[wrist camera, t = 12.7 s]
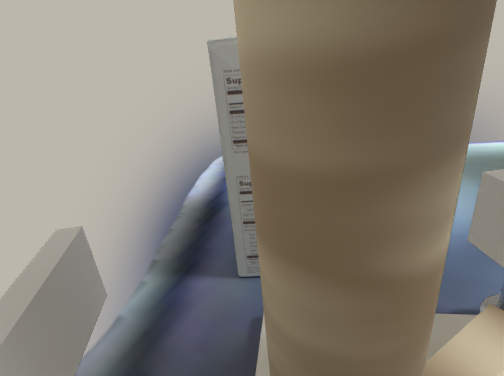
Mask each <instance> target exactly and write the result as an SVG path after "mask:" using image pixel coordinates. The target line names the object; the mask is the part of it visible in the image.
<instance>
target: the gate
mask: <svg viewBox="0 0 504 376" xmlns="http://www.w3.org/2000/svg"><path fill="white" fill-rule="evenodd" d="M233 1H234V12H235V21H236V32H237V42H238V52H239V63H240V73H241V83H242V93H243V104H244V114H245V124H246V134H247V144H248V155H249V165H250V175H251V185H252V196H253V206H254V216H255V226H256V237H257V247H258V257H259V267H260V277H261V288H262V298H263V308H264V318H265V329H266V339H267V349H268V359H269V369H270V376H504V311H503V310H501V309H499V308H497V307H496V306H494V305H492V304H489V305H488V306H487V307H486V308H485V309H484V310H483V311H482V312H481V313H480V314H478V315H477V316H476V317H475V318H474V319H473V320H472V321H471V322H470V323H468V324H467V325H466V326H465V327H464V328H463V329H462V330H461V331H460V332H459V333H457V334H456V335H455V336H454V337H453V338H452V339H451V340H450V341H449V342H448V343H446V344H445V345H444V346H443V347H442V348H441V349H440V350H439V351H438V352H436V353H435V354H434V355H433V356H432V357H431V358H430V359H429V360H428V361H427V362H426V358H427V353H428V348H429V343H430V338H431V333H432V328H433V323H434V318H435V312H436V307H437V302H438V297H439V292H440V287H441V282H442V277H443V272H444V267H445V261H446V256H447V251H448V246H449V241H450V236H451V231H452V226H453V221H454V216H455V210H456V205H457V200H458V195H459V190H460V185H461V180H462V175H463V170H464V165H465V160H466V154H467V149H468V144H469V139H470V134H471V129H472V124H473V119H474V114H475V108H476V103H477V98H478V93H479V88H480V83H481V78H482V73H483V68H484V63H485V58H486V53H487V47H488V42H489V37H490V32H491V27H492V21H493V17H494V12H495V7H496V2H497V0H233Z"/></svg>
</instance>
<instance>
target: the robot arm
mask: <svg viewBox="0 0 504 376" xmlns="http://www.w3.org/2000/svg"><path fill="white" fill-rule="evenodd" d="M468 241H469V242H470V243H472V244H473V245H474V246H476V247H477V248H478V249H479V250H481V251H482V252H483V253H485V254H486V255H487V256H489V257H490V258H491V259H493V260H494V261H495V262H497V263H498V264H499V265H501V266H502V267H503V268H504V169H499V170H492V171H485V172H483V174H482V178H481V182H480V187H479V191H478V196H477V200H476V205H475V209H474V214H473V218H472V223H471V227H470V232H469V236H468ZM106 296H107V295H106V292H105V289H104V286H103V283H102V280H101V278H100V275H99V272H98V269H97V266H96V264H95V261H94V258H93V255H92V252H91V250H90V247H89V244H88V241H87V239H86V236H85V233H84V230H83V227H82V226H81V227H74V228H67V229H59V230H56V231H55V232H54V234H53V235H52V236H51V237H50V238H49V240H48V241H47V242H46V243H45V244H44V246H43V247H42V248H41V249H40V251H39V252H38V253H37V254H36V256H35V257H34V258H33V259H32V261H31V262H30V263H29V264H28V265H27V267H26V268H25V269H24V270H23V272H22V273H21V274H20V275H19V277H18V278H17V279H16V280H15V281H14V283H13V284H12V285H11V286H10V288H9V289H8V290H7V291H6V292H5V294H4V295H3V296H2V297H1V299H0V376H75V374H76V371H77V369H78V366H79V364H80V361H81V359H82V356H83V354H84V351H85V349H86V346H87V344H88V341H89V339H90V336H91V334H92V331H93V329H94V326H95V324H96V321H97V319H98V316H99V314H100V311H101V309H102V306H103V304H104V301H105V299H106Z"/></svg>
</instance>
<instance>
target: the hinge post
mask: <svg viewBox="0 0 504 376" xmlns="http://www.w3.org/2000/svg"><path fill="white" fill-rule="evenodd" d="M489 304H492V305H494V306H496V307H497V308H499V309H501V310H503V311H504V283H503V286H502V289H501V293H500V294H498V295H493V296H490V297H488V298H486V299H485V300H484V301H483V302H482V304H481V307H480V311H479V314H480V313H481V312H482V311H483V310H484V309H485V308H486V307H487V306H488V305H489Z"/></svg>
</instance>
